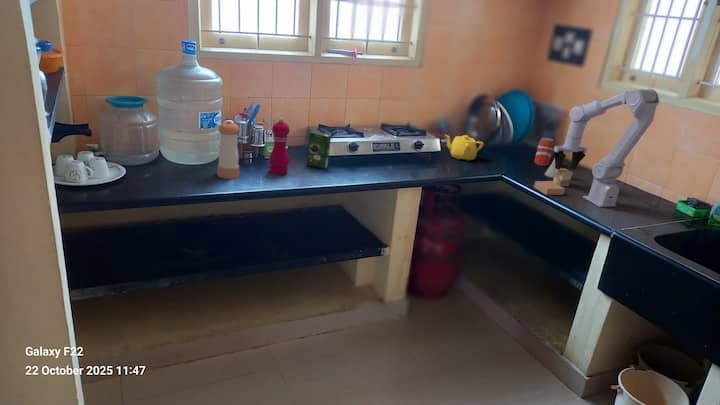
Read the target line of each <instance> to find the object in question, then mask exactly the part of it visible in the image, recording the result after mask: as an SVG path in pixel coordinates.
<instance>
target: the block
mask: <svg viewBox="0 0 720 405" xmlns="http://www.w3.org/2000/svg"><path fill="white" fill-rule="evenodd" d="M573 174H574V172H573V171H571V170H569V169H567V168H561V169H560V170H558V169H556V172H555V176H554V178H553V180H552V181H553V182H554V183H556V184H558V185H560V186H561V187H570V184H571V180H572V176H573Z"/></svg>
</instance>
